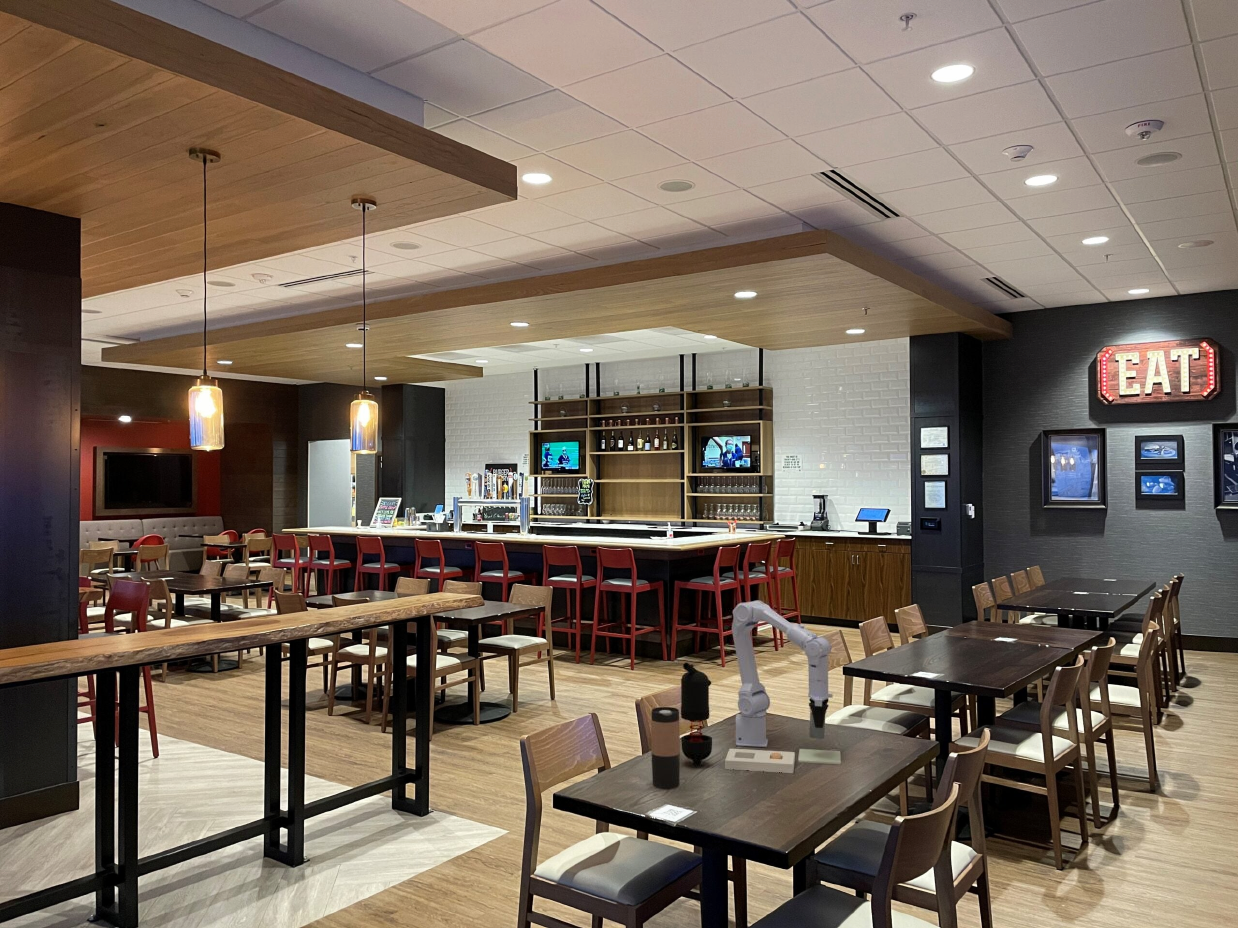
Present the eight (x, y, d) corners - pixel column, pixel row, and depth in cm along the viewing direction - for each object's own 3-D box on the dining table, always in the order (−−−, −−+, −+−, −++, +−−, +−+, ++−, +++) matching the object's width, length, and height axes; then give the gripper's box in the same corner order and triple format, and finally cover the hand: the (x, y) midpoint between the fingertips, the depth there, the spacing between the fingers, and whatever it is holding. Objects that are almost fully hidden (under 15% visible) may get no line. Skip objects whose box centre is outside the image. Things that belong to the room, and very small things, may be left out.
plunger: (771, 764, 258) (770, 755, 258) (771, 761, 261) (771, 752, 261) (780, 764, 258) (780, 755, 258) (781, 761, 260) (781, 753, 260)
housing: (725, 768, 257) (725, 760, 257) (729, 756, 268) (729, 748, 268) (793, 773, 252) (793, 764, 252) (794, 760, 264) (794, 752, 264)
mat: (798, 761, 263) (798, 760, 263) (799, 750, 274) (799, 748, 274) (840, 764, 260) (840, 762, 260) (840, 752, 272) (840, 750, 272)
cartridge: (809, 737, 265) (810, 710, 266) (807, 733, 270) (809, 706, 270) (825, 739, 265) (827, 711, 265) (823, 735, 270) (825, 708, 270)
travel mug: (663, 778, 249) (662, 705, 249) (685, 783, 244) (685, 709, 244) (646, 785, 243) (645, 710, 243) (669, 791, 238) (668, 714, 238)
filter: (700, 771, 254) (699, 664, 255) (673, 766, 260) (672, 661, 260) (724, 760, 265) (723, 657, 266) (697, 755, 270) (696, 654, 271)
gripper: (832, 684, 260) (833, 732, 260) (832, 674, 274) (832, 719, 274) (807, 683, 262) (808, 730, 261) (808, 673, 276) (809, 718, 275)
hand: (819, 725), depth 268 cm, fingers closed on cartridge, 5 cm apart
